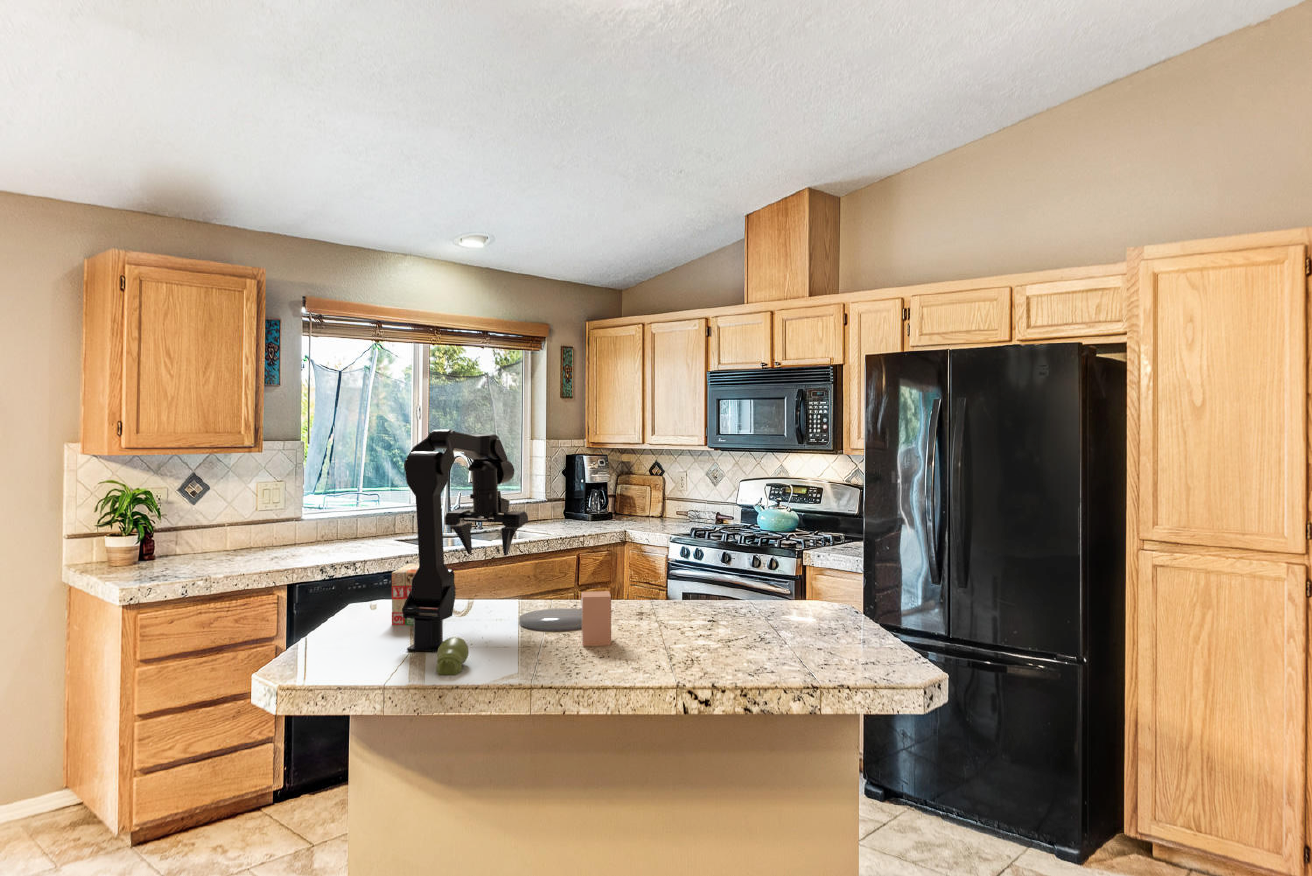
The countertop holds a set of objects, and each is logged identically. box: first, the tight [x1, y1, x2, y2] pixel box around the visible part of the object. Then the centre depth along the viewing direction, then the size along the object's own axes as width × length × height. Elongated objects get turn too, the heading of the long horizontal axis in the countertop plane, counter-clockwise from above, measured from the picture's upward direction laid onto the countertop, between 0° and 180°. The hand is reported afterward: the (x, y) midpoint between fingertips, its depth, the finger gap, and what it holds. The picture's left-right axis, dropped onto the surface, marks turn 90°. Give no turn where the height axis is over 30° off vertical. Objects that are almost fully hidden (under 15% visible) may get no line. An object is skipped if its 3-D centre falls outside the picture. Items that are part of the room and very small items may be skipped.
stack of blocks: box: [391, 563, 436, 626], centre depth 201 cm, size 21×6×12 cm, turn 179°
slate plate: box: [518, 608, 582, 632], centre depth 193 cm, size 18×18×1 cm
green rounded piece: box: [435, 636, 470, 676], centre depth 155 cm, size 6×5×10 cm
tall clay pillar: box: [580, 590, 612, 647], centre depth 174 cm, size 6×6×10 cm
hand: (487, 554), depth 196 cm, fingers open, 9 cm apart
